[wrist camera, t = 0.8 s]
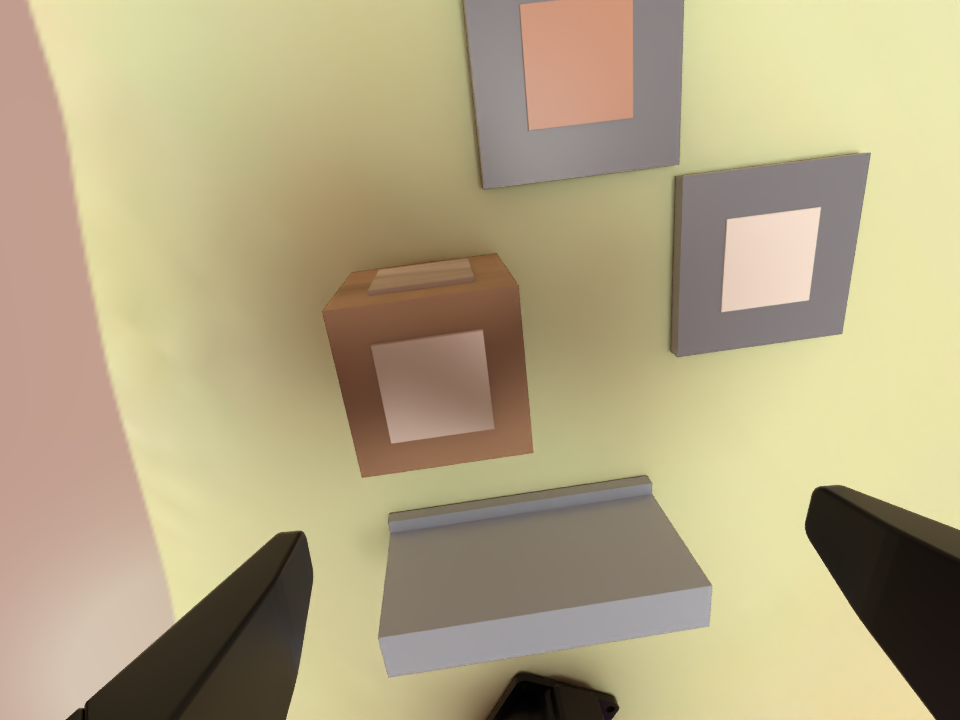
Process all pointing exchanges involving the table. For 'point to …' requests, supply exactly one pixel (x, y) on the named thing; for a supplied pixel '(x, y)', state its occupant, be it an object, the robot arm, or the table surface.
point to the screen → (535, 576)
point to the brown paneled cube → (431, 364)
